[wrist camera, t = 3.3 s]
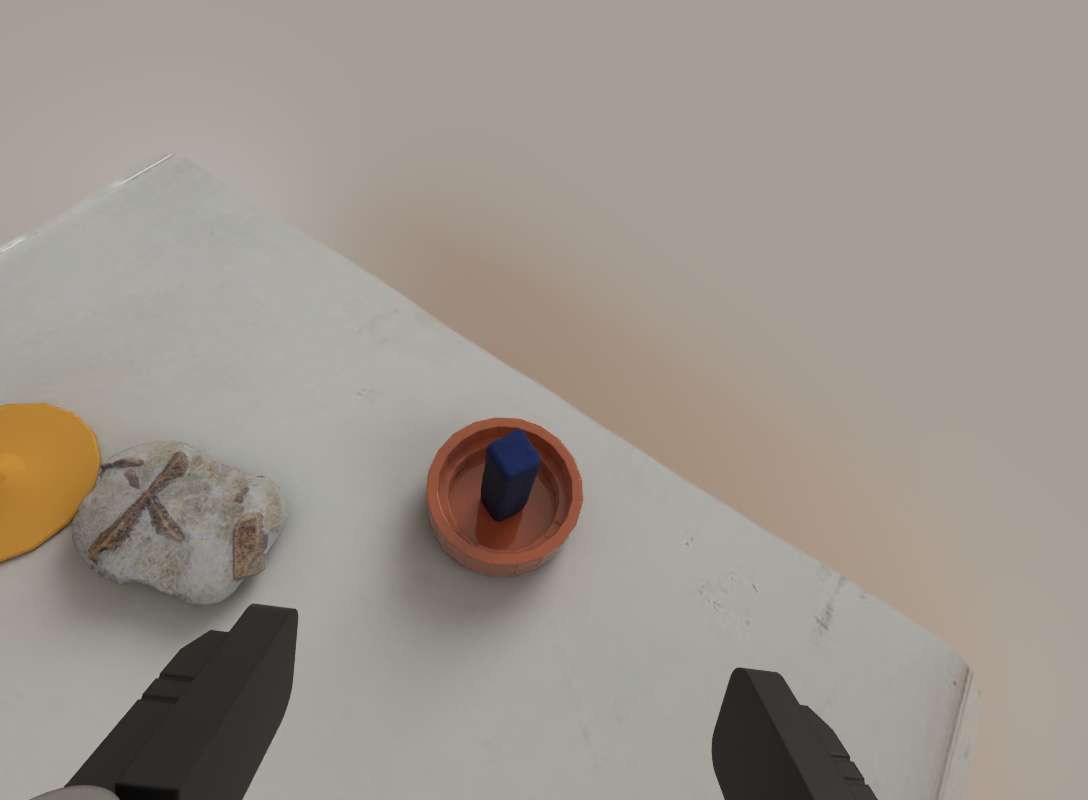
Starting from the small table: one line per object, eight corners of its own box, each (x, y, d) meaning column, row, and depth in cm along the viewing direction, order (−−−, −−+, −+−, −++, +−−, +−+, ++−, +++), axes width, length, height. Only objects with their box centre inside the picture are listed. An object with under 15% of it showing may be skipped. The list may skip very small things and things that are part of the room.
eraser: (509, 477, 34) (522, 422, 28) (529, 509, 33) (546, 460, 27) (476, 493, 33) (482, 441, 27) (495, 527, 32) (505, 481, 26)
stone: (55, 566, 29) (21, 551, 26) (145, 437, 32) (123, 415, 30) (242, 624, 29) (225, 615, 26) (311, 489, 32) (301, 470, 30)
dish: (598, 495, 35) (611, 475, 32) (515, 611, 31) (522, 599, 28) (489, 416, 36) (492, 391, 34) (397, 517, 32) (393, 498, 30)
